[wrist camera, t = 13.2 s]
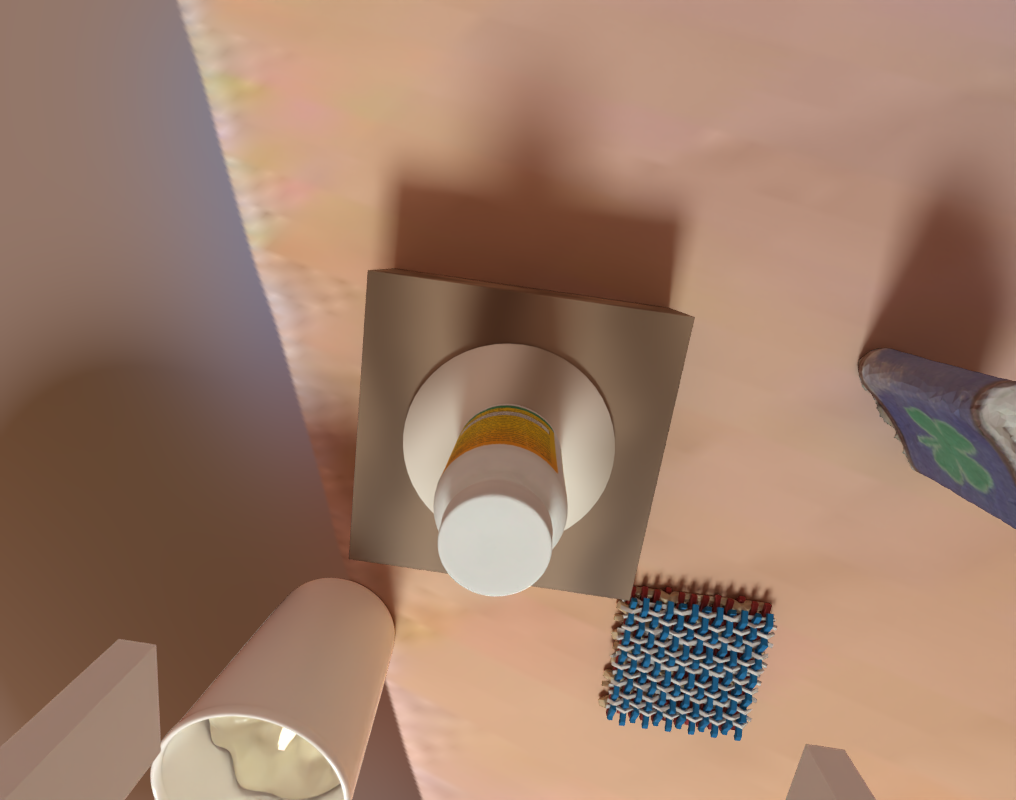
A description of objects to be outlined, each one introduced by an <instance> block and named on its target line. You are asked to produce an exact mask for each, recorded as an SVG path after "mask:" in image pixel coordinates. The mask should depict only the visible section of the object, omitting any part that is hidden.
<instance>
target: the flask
mask: <svg viewBox="0 0 1016 800" xmlns="http://www.w3.org/2000/svg"><path fill="white" fill-rule="evenodd" d="M858 366H859V367H858V368H859V369H858V372H859V377H860V380H861V382H862V386H863V388H864V389H865V390H866V391H867V390H868V391H869V392H870V393H871V394H872V396H873V398H874V400H876V404H877V406H878V407H877V409H878V411H879V412H880V417H882V418H883V419H884V422H886V423H887V424H889V425H890V426H892V427H893V428H895V430H896V433H897V434H896V436H895V437H894V438H897V439H898V440H899V441H900V442H902V444H903V446H904V452H903V453H904V454H905V455H906V457H907V458H908V462H909V463H910V465H911V468H912V469H913V470H915V471H916V472H918V473H920V474H923V475H925V476H927V477H929V478H931V479H932V480H934V481H936V482H938V483H939V484H941V485H942V486H944V487H946V488H948V489H950V490H952V491H953V492H954V493H956V494H957V495H959V496H961V497H962V498H964V499H966V500H967V501H969V502H971V503H973V504H975V505H976V506H978V507H980V508H981V509H983V510H985V511H986V512H988V513H990V514H991V515H993V516H995V517H997V518H999V519H1001V520H1002V521H1003V522H1005V523H1007V524H1008V525H1010V526H1011V527H1013V528H1014V529H1016V381H1011V380H1007V379H1002V378H997V377H994V376H990V375H986V374H983V373H979V372H974V371H970V370H967V369H963V368H960V367H956V366H952V365H948V364H944V363H940V362H935V361H932V360H928V359H925V358H922V357H918V356H915V355H912V354H908V353H903V352H900V351H897V350H894V349H889V348H880V349H874V350H871V351H870V352H869V353H867V354H866V355H865V356H864V357H863V358H861V359H860V360H859V361H858Z"/></svg>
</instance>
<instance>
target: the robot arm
mask: <svg viewBox="0 0 1016 800" xmlns="http://www.w3.org/2000/svg"><path fill="white" fill-rule="evenodd" d="M160 752H161V741H160V721H159V698H158V676H157V655H156V645H155V644H148V643H141V642H135V641H128V640H122V639H118V640H117V641H116V642H115V643H114V644H113V645H112V646H111V647H110V648H108V649H107V650H106V651H105V652H104V653H103V654H102V655H101V656H100V657H99V658H98V659H96V660H95V661H94V662H93V663H92V664H91V665H90V666H89V667H88V668H86V669H85V670H84V671H83V672H82V673H81V674H80V675H79V676H78V677H77V678H75V679H74V680H73V681H72V682H71V683H70V684H69V685H68V686H67V687H66V688H65V689H63V690H62V691H61V692H60V693H59V694H58V695H57V696H56V697H55V698H54V699H53V700H51V702H49V703H48V704H47V705H46V706H45V707H44V708H43V709H42V710H40V711H39V712H38V713H37V714H36V715H35V716H34V717H33V718H32V719H31V720H30V721H28V722H27V723H26V724H25V725H24V726H23V727H22V728H21V729H20V730H19V731H17V732H16V733H15V734H14V735H13V736H12V737H11V738H10V739H9V740H8V741H7V742H5V743H4V744H3V745H2V746H1V747H0V800H125V798H126V797H127V796H128V794H129V793H130V792H131V790H132V789H133V788H134V786H135V785H136V784H137V782H138V781H139V780H140V779H141V777H142V776H143V775H144V773H145V772H146V771H147V769H148V768H149V767H150V766H151V764H152V763H153V762H154V760H155V759H156V758H157V756H158V755H159V754H160ZM786 800H876V799H875V798H874V796H873V794H872V793H871V791H870V790H869V788H868V786H867V785H866V783H865V782H864V780H863V779H862V777H861V775H860V774H859V772H858V771H857V769H856V767H855V766H854V764H853V763H852V761H851V759H850V758H849V756H848V755H847V753H846V752H845V750H843V749H836V748H830V747H823V746H817V745H810V744H806V745H805V748H804V750H803V753H802V756H801V759H800V761H799V764H798V767H797V770H796V772H795V775H794V778H793V781H792V784H791V786H790V789H789V792H788V795H787V797H786Z"/></svg>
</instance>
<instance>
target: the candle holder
mask: <svg viewBox="0 0 1016 800" xmlns="http://www.w3.org/2000/svg"><path fill="white" fill-rule="evenodd" d="M394 641H395V629H394V623H393V620H392V617H391V614H390V612H389V610H388V609H387V607H386V606H385V604H384V603H383V602H382V601H381V599H380V598H379V597H378V596H377V595H375V594H374V593H373V592H372V591H370V590H369V589H367V588H366V587H364V586H362V585H360V584H358V583H356V582H353V581H350V580H346V579H341V578H320V579H315V580H312V581H309V582H306V583H304V584H302V585H300V586H299V587H297V588H296V589H295V590H293V591H292V592H291V593H290V594H289V595H288V596H287V597H286V598H285V599H284V600H283V601H282V602H281V603H280V605H279V606H278V607H277V608H276V609H275V610H274V612H273V613H272V614H271V615H270V616H269V617H268V618H267V620H266V621H265V622H264V623H263V624H262V625H261V627H260V628H259V629H258V630H257V631H256V632H255V634H254V635H253V636H252V637H251V638H250V639H249V641H248V642H247V643H246V644H245V645H244V646H243V648H242V649H241V650H240V651H239V652H238V653H237V655H236V656H235V657H234V658H233V659H232V661H231V662H230V663H229V664H228V665H227V666H226V668H225V669H224V670H223V671H222V672H221V674H220V675H219V676H218V677H217V678H216V679H215V681H214V682H213V683H212V684H211V685H210V687H209V688H208V689H207V690H206V691H205V692H204V693H203V695H202V696H201V697H200V698H199V699H198V700H197V702H196V703H195V704H194V705H193V706H192V708H191V709H190V710H189V711H188V712H187V713H186V714H185V716H184V717H183V718H182V719H181V721H179V722H178V723H177V724H176V725H175V726H174V727H173V728H172V729H171V730H170V731H169V732H168V733H167V734H166V736H165V737H164V738H163V740H162V741H161V752H160V754H159V755H158V756H157V758H156V759H155V760H154V762H153V763H152V765H151V786H152V791H153V795H154V798H155V800H352V798H353V794H354V790H355V786H356V783H357V779H358V775H359V772H360V768H361V764H362V761H363V757H364V754H365V750H366V747H367V743H368V739H369V736H370V732H371V729H372V725H373V721H374V718H375V714H376V711H377V707H378V703H379V700H380V696H381V692H382V689H383V685H384V682H385V678H386V674H387V671H388V667H389V663H390V659H391V655H392V651H393V647H394Z"/></svg>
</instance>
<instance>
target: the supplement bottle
mask: <svg viewBox="0 0 1016 800" xmlns="http://www.w3.org/2000/svg"><path fill="white" fill-rule="evenodd" d="M433 507H434V518H435V522H436V526H437V529H438V531H439V533H438V553H439V557H440V559H441V562H442V564H443V566H444V568H445V569H446V571H447V573H448V574H449V575H450V576H451V577H452V578H453V579H454V580H455V581H456V582H457V583H458V584H460V585H461V586H463V587H464V588H466V589H468V590H470V591H472V592H475V593H477V594H481V595H486V596H506V595H511V594H515V593H518V592H521V591H523V590H525V589H526V588H528V587H530V586H531V585H533V584H534V583H535V582H536V581H537V580H538V579H539V578H540V577H541V576H542V575H543V573H544V572H545V570H546V568H547V566H548V564H549V561H550V558H551V555H552V549H553V548H554V547H555V546H556V544H557V543H558V541H559V540H560V538H561V536H562V534H563V531H564V528H565V525H566V521H567V513H568V504H567V494H566V487H565V480H564V473H563V463H562V454H561V447H560V443H559V440H558V437H557V435H556V433H555V431H554V429H553V428H552V426H551V425H550V424H549V422H548V421H547V420H546V419H545V418H544V417H542V416H541V415H540V414H538V413H537V412H535V411H533V410H531V409H529V408H526V407H524V406H520V405H516V404H498V405H494V406H490V407H487V408H485V409H483V410H481V411H479V412H478V413H476V414H475V415H474V416H473V417H472V418H471V419H470V420H469V421H468V422H467V423H466V425H465V426H464V428H463V430H462V431H461V433H460V435H459V437H458V439H457V442H456V444H455V446H454V448H453V451H452V453H451V455H450V457H449V460H448V462H447V465H446V467H445V469H444V471H443V473H442V475H441V477H440V479H439V481H438V484H437V488H436V491H435V496H434V505H433Z"/></svg>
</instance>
